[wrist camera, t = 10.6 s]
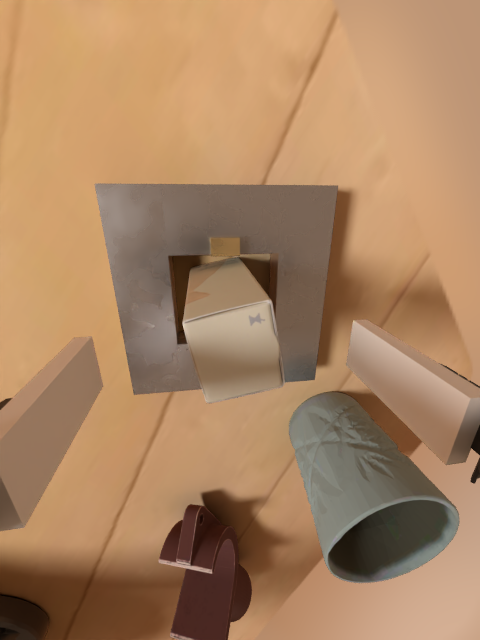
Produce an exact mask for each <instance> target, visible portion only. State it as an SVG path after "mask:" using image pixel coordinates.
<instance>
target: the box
mask: <svg viewBox="0 0 480 640" xmlns="http://www.w3.org/2000/svg"><path fill="white" fill-rule="evenodd" d="M182 324H183V328H184V332H185V336H186V340H187V343H188V347H189V350H190V354H191V357H192V360H193V364H194V367H195V370H196V373H197V376H198V379H199V382H200V385H201V388H202V391H203V394H204V397H205V400H206V402H207V403H214V402H219V401H223V400H228V399H233V398H238V397H242V396H246V395H250V394H255V393H259V392H264V391H268V390H272V389H276V388H281V387H283V386H284V384H285V380H284V371H283V364H282V357H281V351H280V344H279V338H278V332H277V326H276V321H275V315H274V309H273V303H272V300H271V299H270V298H269V296H268V295H267V294H266V292H265V291H264V290H263V288H262V287H261V285H260V284H259V283H258V282H257V280H256V279H255V277H254V276H253V275H252V273H251V272H250V271H249V269H248V268H247V267H246V266H245V264H244V263H243V262H242V260H241V259H240V258H239V257H237V258H231V259H225V260H221V261H216V262H211V263H207V264H203V265H199V266H196V267H192V268H191V269H190V274H189V282H188V289H187V296H186V303H185V310H184V317H183V322H182Z"/></svg>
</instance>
